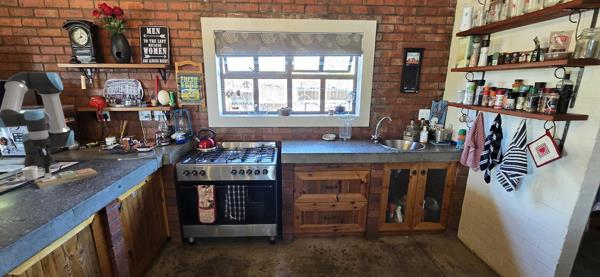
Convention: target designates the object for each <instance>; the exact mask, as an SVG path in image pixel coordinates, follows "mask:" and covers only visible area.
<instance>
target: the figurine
mask: <svg viewBox="0 0 600 277" xmlns="http://www.w3.org/2000/svg"><path fill="white" fill-rule="evenodd" d="M120 145H121V146H122V149H121V150H118V154H120V155H122V156H123V155H129V154H135V153H137V150H136V149H134V148H131V145H130V142H129V140H128V139H126V138H123V139H122V140H121V142H120Z"/></svg>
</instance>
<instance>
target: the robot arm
mask: <svg viewBox="0 0 600 277" xmlns="http://www.w3.org/2000/svg"><path fill="white" fill-rule="evenodd" d="M4 89H5V92H4V95H3V99H2V102H1V106H0V128H1V129H2V128H3V129H4V128H5V129H6V128H16V127H17V128H18V127H26V128H27V133H24V134H22V135H21V142H22V145H23V150H24V153H25V158H24V162H23V164H24V168H25V167H30V166H37V167H40V168H41V169H42V172H43V175H44V177H43V178H45V179H48V178H52V176H53V175H52V171H51V168H50V167H51V164H54V163H55V158H54V157H53V155H52V154H51V153H50V150H49V149H59V148H67V147H73V145H74V143H75V132H74V130H73V129H72V130H71V128H70V127H69V126H67V123H66V119H65V114H64V109H63V107H62V103H61V97H60V94H61V93H62V91H63V90H64V85H63V81H62V80H61V77H60V76H59V74H58V73H56V72H50V71H49V72H48V71H47V72H46V71H38V72H37V71H21V72H18V73H16V74H13V75H12V76H10V77H9V78H8V79H7V80H6V81H5V84H4ZM28 91H36V92H37V94H38V95H40V96H41V98H42V104H43V106H44V110H45V111H43V110H41V109H32V110H24V111H23V112H21V111H22V110H21V109H22V106H23V105H22V104H23V101H24V98H25V94H26V93H27V92H28ZM47 124H48V125H49V128H48V127H47Z"/></svg>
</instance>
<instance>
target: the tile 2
mask: <svg viewBox="0 0 600 277" xmlns="http://www.w3.org/2000/svg"><path fill="white" fill-rule="evenodd" d="M57 175H59V177H60V178H61V179H62V178H66V177H71V176H75V173H74V172H73V170H68V171H67V170H66V171H63V172H62V171H61V172H58V174H57Z"/></svg>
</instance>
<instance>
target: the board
mask: <svg viewBox="0 0 600 277" xmlns="http://www.w3.org/2000/svg"><path fill="white" fill-rule="evenodd" d="M84 169H85V168H82V169H79V170H74V171H73V170H72V171H73V172H74V173H75V176H71V177H66V178H62V179H61V178H60V177H59V174H55V175H53V176H55V177H56V178H57V180H53V181H49V182H44V183H42V182H41V181H40V179H43V178H44V177H42V178H37V179H34V180H33V182H34V184H35V185H36V186H37V187H38V188H39V189H40V190H41V189H45V188H49V187H53V186H57V185H62V184H65V183H71V182H74V181H79V180H82V179H87V178H90V177H96V176H98V175H99V174H98V171H96V169H93V168H91V167H87V168H86V169H89V170H91V172H88V173H84V174H80V175H79V174H77V173H76V171H80V170H84Z"/></svg>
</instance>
